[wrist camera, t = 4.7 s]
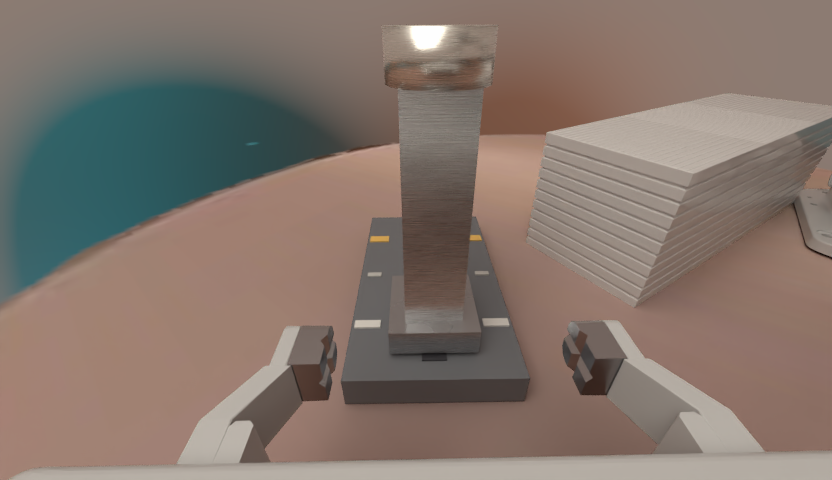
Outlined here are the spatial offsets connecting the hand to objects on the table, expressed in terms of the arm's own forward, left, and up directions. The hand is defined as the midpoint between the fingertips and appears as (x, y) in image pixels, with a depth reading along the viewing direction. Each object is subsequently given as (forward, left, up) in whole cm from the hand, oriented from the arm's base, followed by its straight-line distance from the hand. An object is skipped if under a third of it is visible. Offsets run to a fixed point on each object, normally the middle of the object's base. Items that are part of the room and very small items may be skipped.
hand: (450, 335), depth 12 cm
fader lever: (-6, -3, -7) cm, 10 cm away
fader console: (-11, -6, -9) cm, 15 cm away
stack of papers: (-33, +12, -9) cm, 36 cm away
